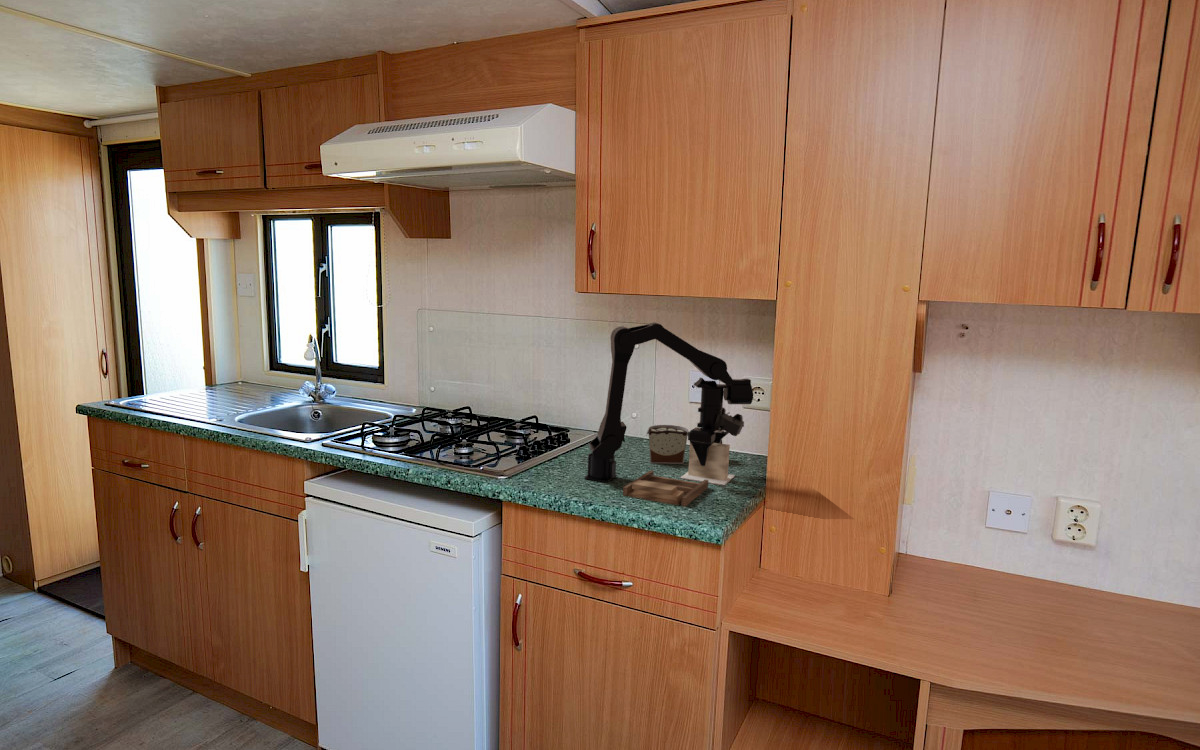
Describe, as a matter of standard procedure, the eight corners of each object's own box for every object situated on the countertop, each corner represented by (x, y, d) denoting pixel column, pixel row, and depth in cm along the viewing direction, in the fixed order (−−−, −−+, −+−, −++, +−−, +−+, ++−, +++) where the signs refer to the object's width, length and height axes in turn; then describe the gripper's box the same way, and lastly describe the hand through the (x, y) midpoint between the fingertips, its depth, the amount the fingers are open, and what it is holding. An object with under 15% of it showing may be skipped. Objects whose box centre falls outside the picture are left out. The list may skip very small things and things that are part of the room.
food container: (685, 458, 209) (686, 424, 207) (688, 463, 203) (690, 429, 201) (643, 457, 208) (644, 424, 207) (645, 463, 202) (646, 428, 201)
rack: (622, 495, 172) (623, 487, 172) (649, 478, 187) (650, 470, 187) (685, 506, 165) (685, 498, 165) (708, 487, 180) (708, 480, 180)
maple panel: (688, 474, 190) (689, 442, 189) (691, 472, 193) (693, 439, 192) (724, 480, 186) (726, 447, 185) (727, 477, 189) (729, 444, 187)
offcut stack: (627, 498, 172) (627, 483, 171) (635, 492, 176) (635, 478, 176) (678, 507, 166) (679, 492, 166) (685, 501, 171) (685, 486, 170)
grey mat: (680, 478, 188) (680, 477, 188) (692, 469, 197) (692, 468, 197) (724, 485, 183) (724, 484, 183) (734, 476, 191) (735, 475, 191)
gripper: (731, 413, 175) (727, 474, 177) (751, 402, 192) (747, 458, 194) (688, 408, 180) (685, 468, 182) (711, 397, 196) (708, 452, 199)
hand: (708, 461), depth 189 cm, fingers open, 9 cm apart
